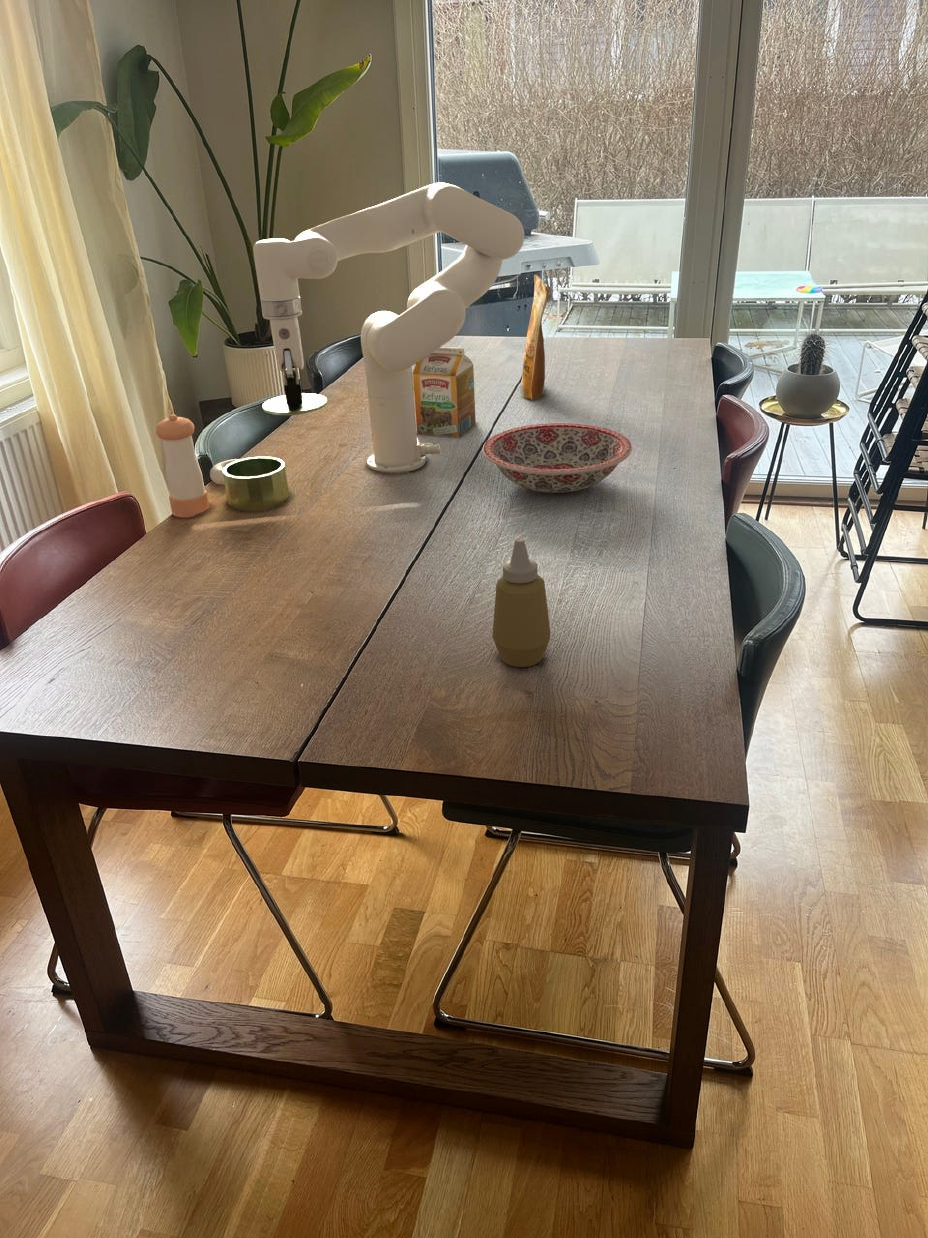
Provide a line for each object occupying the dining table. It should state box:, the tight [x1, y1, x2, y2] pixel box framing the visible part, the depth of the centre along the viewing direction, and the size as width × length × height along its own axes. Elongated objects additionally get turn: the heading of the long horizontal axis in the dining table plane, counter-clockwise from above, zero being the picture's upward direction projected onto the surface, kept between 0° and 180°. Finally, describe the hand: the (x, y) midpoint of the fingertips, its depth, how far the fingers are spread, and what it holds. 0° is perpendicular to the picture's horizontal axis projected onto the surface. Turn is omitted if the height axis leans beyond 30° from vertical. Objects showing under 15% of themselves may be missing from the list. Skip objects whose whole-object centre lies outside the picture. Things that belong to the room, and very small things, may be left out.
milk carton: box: [412, 346, 477, 438], centre depth 220 cm, size 11×10×19 cm
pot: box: [222, 456, 290, 510], centre depth 188 cm, size 12×12×7 cm
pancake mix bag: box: [521, 273, 550, 401], centre depth 242 cm, size 7×19×28 cm, turn 178°
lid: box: [262, 378, 328, 416], centre depth 192 cm, size 13×13×6 cm
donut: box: [209, 458, 243, 486], centre depth 200 cm, size 10×4×10 cm
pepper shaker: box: [155, 414, 210, 519], centre depth 182 cm, size 7×7×19 cm
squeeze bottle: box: [491, 537, 551, 668], centre depth 129 cm, size 8×8×18 cm
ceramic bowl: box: [482, 422, 633, 494], centre depth 188 cm, size 29×29×8 cm
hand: (294, 400), depth 192 cm, fingers closed on lid, 2 cm apart
